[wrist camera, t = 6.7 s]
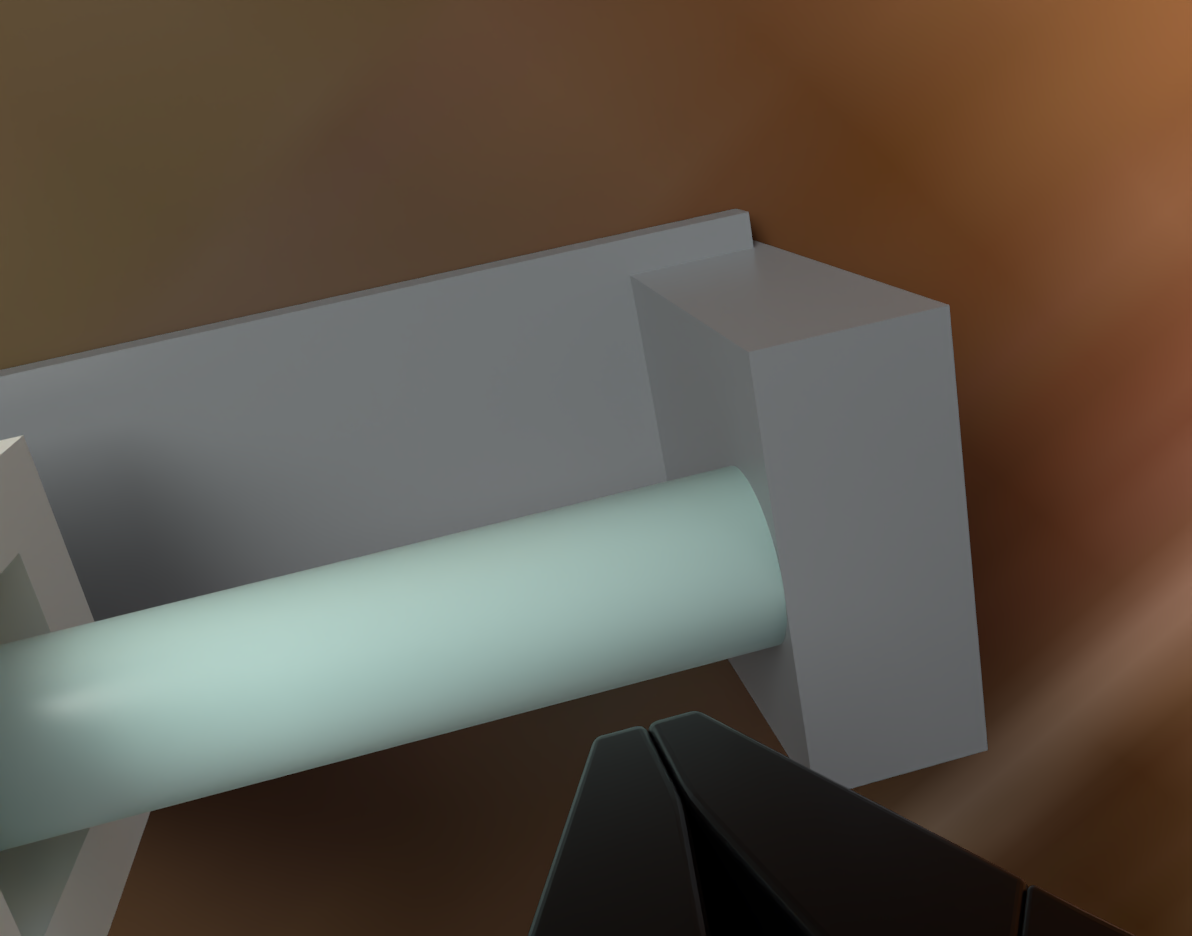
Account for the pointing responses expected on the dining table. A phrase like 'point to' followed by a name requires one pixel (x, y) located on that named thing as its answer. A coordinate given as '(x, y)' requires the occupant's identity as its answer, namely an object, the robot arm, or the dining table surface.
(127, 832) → the sleeve
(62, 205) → the dining table surface
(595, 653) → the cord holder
